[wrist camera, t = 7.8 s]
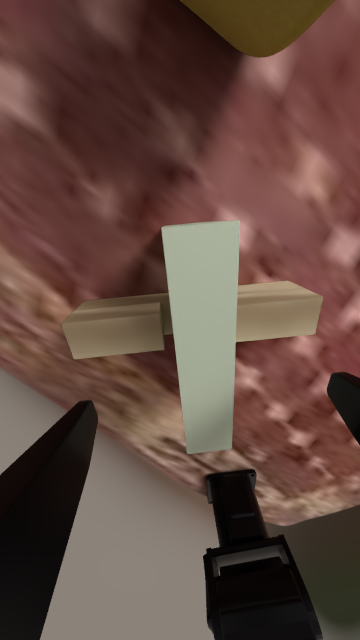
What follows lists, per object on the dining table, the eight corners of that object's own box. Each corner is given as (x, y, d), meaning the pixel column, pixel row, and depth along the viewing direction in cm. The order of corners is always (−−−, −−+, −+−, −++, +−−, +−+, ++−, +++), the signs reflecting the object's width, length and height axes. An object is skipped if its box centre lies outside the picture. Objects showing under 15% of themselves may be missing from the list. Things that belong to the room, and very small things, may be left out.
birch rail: (283, 310, 17) (314, 333, 14) (93, 330, 17) (74, 359, 13) (288, 280, 16) (323, 297, 12) (84, 301, 16) (60, 323, 12)
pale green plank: (206, 363, 19) (231, 448, 12) (179, 366, 19) (187, 454, 12) (201, 222, 14) (240, 220, 7) (163, 225, 14) (161, 227, 7)
